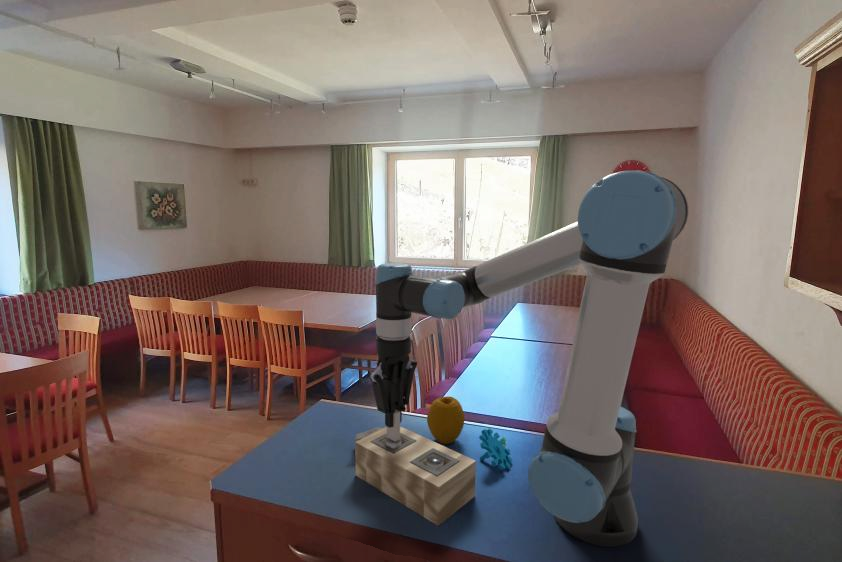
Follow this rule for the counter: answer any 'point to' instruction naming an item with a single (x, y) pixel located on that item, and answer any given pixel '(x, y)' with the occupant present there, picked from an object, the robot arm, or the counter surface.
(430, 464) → the steel peg near
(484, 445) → the teal knobby branched piece
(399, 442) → the steel peg far
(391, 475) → the socket block
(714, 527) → the counter surface
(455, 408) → the apple
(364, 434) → the stone
